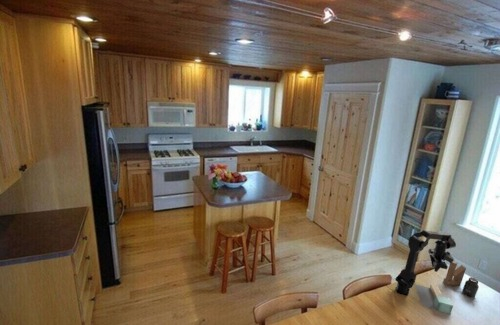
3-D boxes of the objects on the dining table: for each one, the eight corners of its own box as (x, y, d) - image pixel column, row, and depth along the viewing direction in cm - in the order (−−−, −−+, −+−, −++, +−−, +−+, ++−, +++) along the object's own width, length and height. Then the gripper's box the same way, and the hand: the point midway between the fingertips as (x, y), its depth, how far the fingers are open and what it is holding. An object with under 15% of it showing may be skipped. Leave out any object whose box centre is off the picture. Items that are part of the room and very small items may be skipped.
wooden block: (460, 285, 183) (468, 263, 178) (446, 285, 182) (454, 263, 177) (456, 281, 187) (463, 260, 182) (442, 282, 185) (449, 260, 180)
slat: (436, 302, 165) (437, 298, 164) (429, 287, 178) (430, 283, 177) (442, 304, 164) (444, 299, 163) (435, 289, 177) (436, 285, 176)
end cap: (436, 310, 159) (439, 301, 157) (433, 303, 165) (436, 295, 163) (450, 313, 157) (453, 305, 155) (446, 306, 162) (449, 298, 161)
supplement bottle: (463, 296, 173) (469, 281, 170) (460, 289, 179) (465, 274, 176) (476, 300, 170) (482, 284, 167) (472, 292, 177) (477, 277, 173)
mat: (422, 307, 161) (422, 306, 161) (414, 284, 181) (414, 283, 180) (451, 314, 157) (451, 314, 157) (439, 291, 176) (439, 290, 176)
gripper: (460, 260, 164) (453, 281, 168) (449, 245, 181) (443, 264, 185) (439, 255, 167) (433, 276, 172) (430, 241, 185) (425, 260, 189)
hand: (434, 269), depth 179 cm, fingers open, 5 cm apart
